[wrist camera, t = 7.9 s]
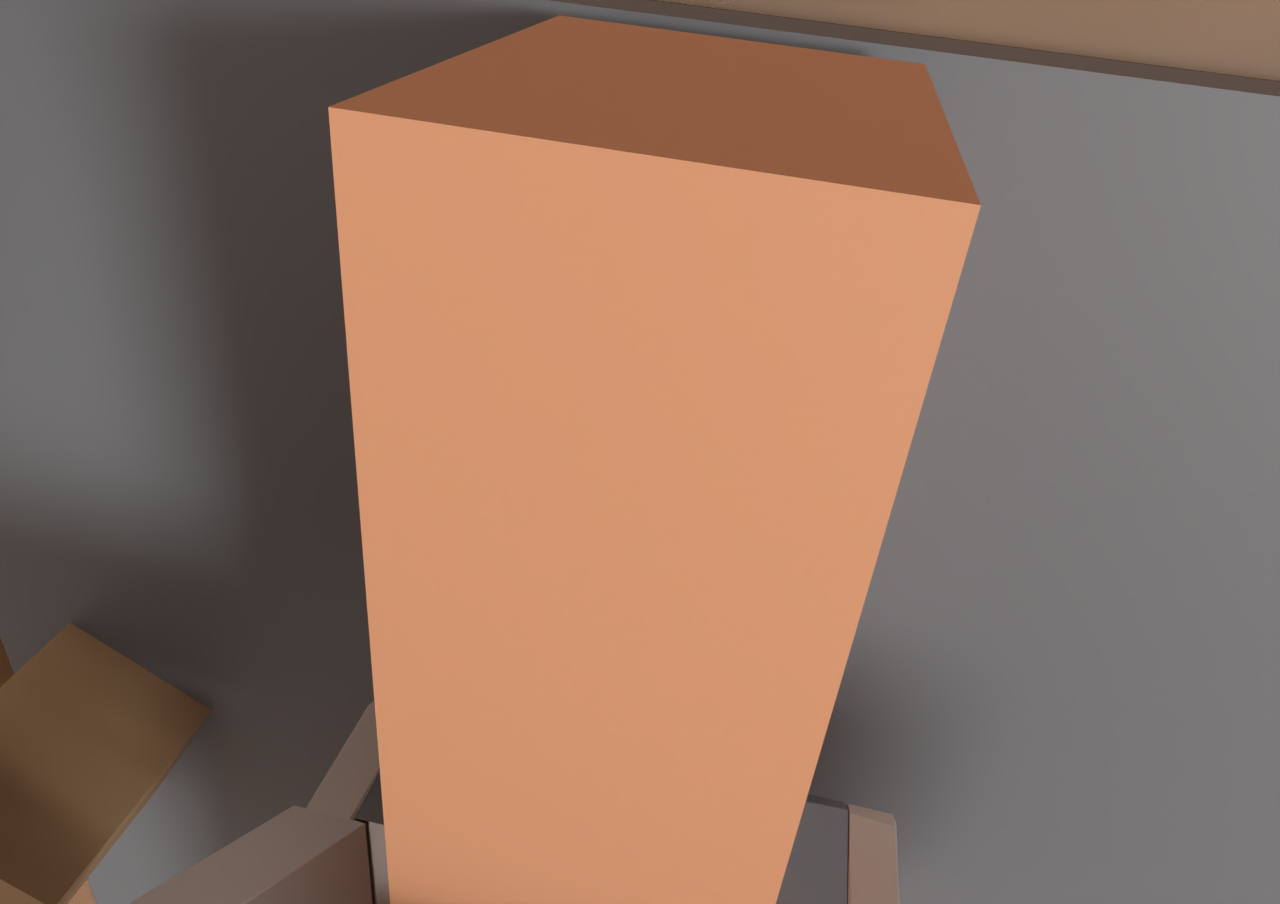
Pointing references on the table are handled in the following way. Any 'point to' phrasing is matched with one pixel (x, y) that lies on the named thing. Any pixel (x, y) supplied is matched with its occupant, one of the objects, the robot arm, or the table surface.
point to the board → (921, 513)
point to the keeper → (80, 761)
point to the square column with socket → (629, 440)
